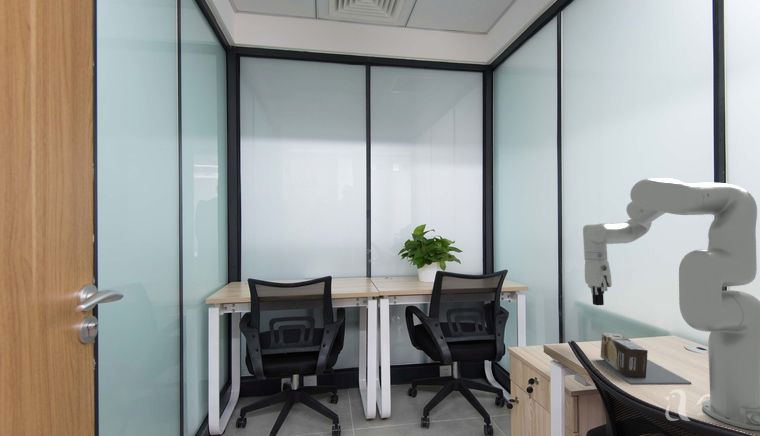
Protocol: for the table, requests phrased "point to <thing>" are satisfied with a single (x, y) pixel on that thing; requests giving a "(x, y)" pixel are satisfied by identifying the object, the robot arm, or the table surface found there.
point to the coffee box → (624, 355)
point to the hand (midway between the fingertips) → (598, 304)
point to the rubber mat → (650, 375)
